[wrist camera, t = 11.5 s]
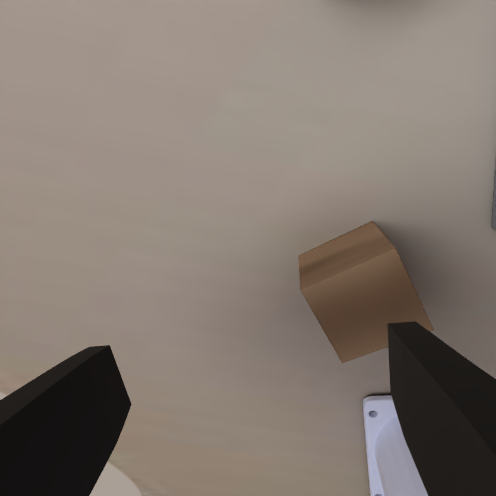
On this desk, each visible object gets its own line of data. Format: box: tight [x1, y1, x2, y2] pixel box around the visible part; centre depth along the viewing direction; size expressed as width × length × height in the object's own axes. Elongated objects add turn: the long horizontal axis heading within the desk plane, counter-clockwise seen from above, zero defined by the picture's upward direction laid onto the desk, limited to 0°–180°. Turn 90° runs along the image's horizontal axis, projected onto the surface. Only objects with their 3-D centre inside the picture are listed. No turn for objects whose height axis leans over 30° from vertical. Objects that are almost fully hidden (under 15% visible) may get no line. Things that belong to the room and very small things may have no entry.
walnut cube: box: [299, 221, 434, 363], centre depth 15 cm, size 4×4×4 cm
